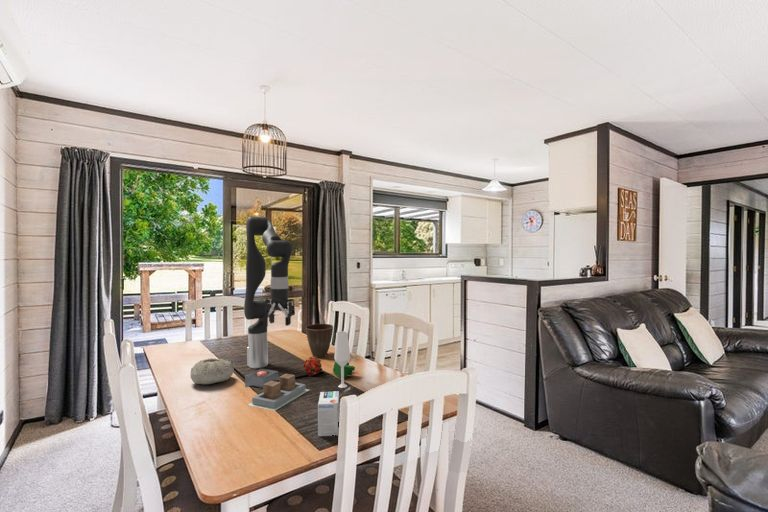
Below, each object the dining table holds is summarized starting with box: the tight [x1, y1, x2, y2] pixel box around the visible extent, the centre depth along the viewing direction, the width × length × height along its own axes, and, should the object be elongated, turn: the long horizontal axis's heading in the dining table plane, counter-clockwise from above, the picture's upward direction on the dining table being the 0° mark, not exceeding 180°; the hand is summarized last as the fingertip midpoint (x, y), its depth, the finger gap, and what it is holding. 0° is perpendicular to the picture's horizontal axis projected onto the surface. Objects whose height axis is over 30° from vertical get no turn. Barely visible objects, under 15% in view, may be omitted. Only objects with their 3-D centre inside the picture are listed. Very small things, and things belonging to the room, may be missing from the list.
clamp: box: [332, 360, 356, 380], centre depth 185 cm, size 12×6×9 cm, turn 24°
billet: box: [278, 373, 296, 391], centre depth 161 cm, size 4×4×7 cm
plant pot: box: [305, 323, 334, 358], centre depth 217 cm, size 15×15×16 cm
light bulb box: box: [317, 390, 340, 437], centre depth 133 cm, size 11×7×11 cm, turn 5°
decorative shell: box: [190, 357, 235, 386], centre depth 178 cm, size 18×18×10 cm
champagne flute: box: [333, 330, 351, 392], centre depth 168 cm, size 7×7×24 cm
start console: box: [244, 368, 280, 389], centre depth 174 cm, size 10×10×5 cm
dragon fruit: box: [302, 356, 323, 377], centre depth 187 cm, size 8×8×12 cm
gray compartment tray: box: [247, 382, 310, 412], centre depth 157 cm, size 13×22×4 cm, turn 156°
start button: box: [257, 371, 267, 376], centre depth 174 cm, size 4×4×4 cm
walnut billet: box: [262, 381, 281, 400], centre depth 153 cm, size 4×4×7 cm
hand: (279, 324), depth 171 cm, fingers open, 8 cm apart
